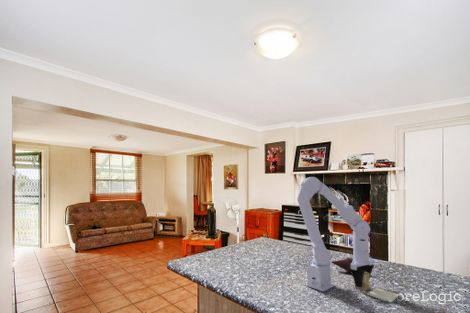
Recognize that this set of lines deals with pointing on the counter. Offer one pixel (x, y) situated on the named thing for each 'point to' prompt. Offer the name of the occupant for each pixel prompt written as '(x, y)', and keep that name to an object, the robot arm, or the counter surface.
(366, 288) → the block
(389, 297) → the coaster
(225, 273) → the counter surface
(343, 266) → the icecream
